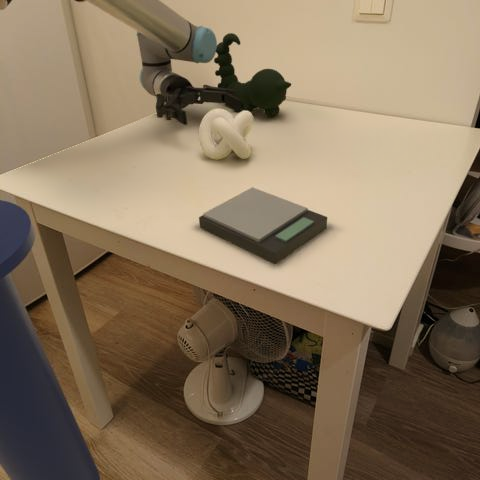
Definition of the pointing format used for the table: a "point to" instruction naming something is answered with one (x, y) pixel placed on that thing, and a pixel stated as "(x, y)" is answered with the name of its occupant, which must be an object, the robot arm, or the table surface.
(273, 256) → the scale
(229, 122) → the white knot sculpture
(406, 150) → the table surface
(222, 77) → the toy figurine
